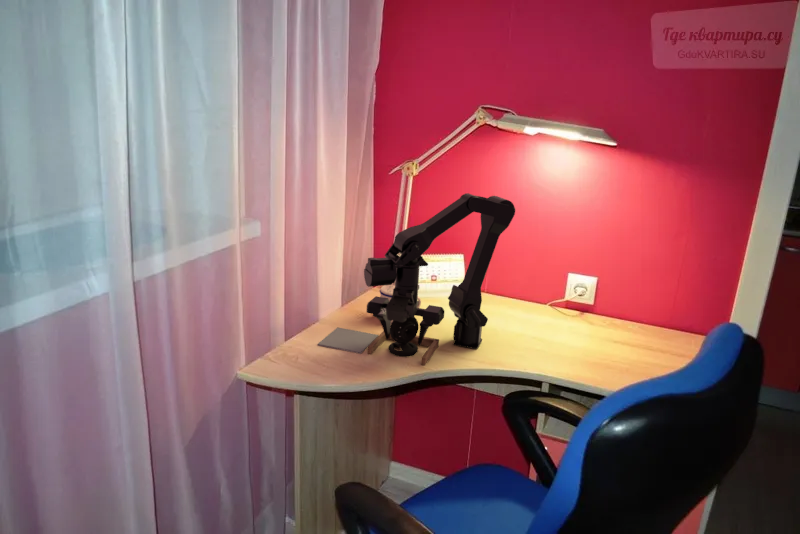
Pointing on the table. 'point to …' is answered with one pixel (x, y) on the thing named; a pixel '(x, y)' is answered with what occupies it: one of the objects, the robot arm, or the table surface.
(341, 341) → the mat
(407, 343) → the webcam
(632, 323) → the table surface
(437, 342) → the holder
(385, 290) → the teacup with lid
